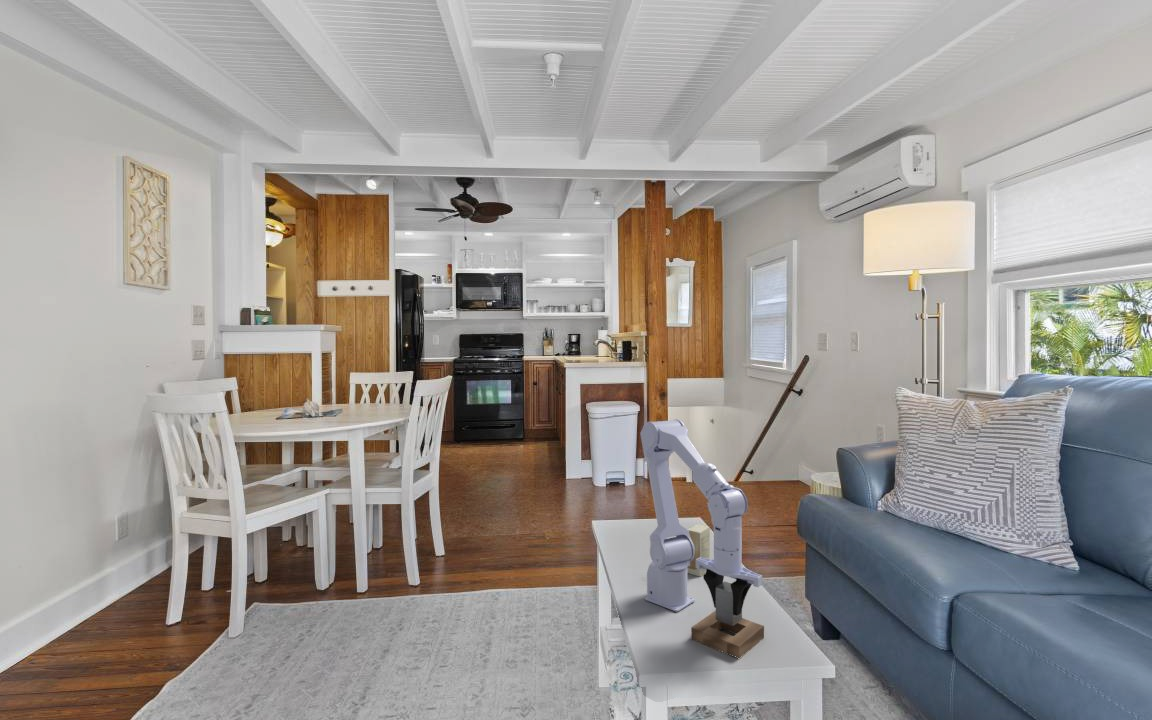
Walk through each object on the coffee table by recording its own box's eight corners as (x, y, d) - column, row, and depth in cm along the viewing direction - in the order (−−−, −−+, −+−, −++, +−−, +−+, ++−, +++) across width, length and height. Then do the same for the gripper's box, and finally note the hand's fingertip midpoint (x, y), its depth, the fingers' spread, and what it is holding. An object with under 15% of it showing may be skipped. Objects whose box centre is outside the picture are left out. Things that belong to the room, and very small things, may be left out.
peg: (715, 619, 116) (715, 587, 116) (724, 613, 119) (725, 581, 119) (732, 626, 114) (732, 592, 114) (741, 619, 116) (742, 586, 116)
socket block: (691, 638, 116) (691, 627, 116) (717, 620, 124) (717, 609, 124) (739, 659, 108) (739, 646, 108) (763, 637, 116) (764, 626, 116)
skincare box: (696, 566, 155) (696, 523, 155) (710, 569, 152) (710, 526, 152) (685, 573, 150) (685, 529, 150) (700, 577, 147) (699, 532, 147)
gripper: (768, 549, 114) (768, 614, 114) (707, 533, 124) (707, 593, 124) (753, 559, 109) (753, 627, 109) (690, 542, 119) (690, 603, 119)
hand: (727, 609), depth 116 cm, fingers closed on peg, 4 cm apart
